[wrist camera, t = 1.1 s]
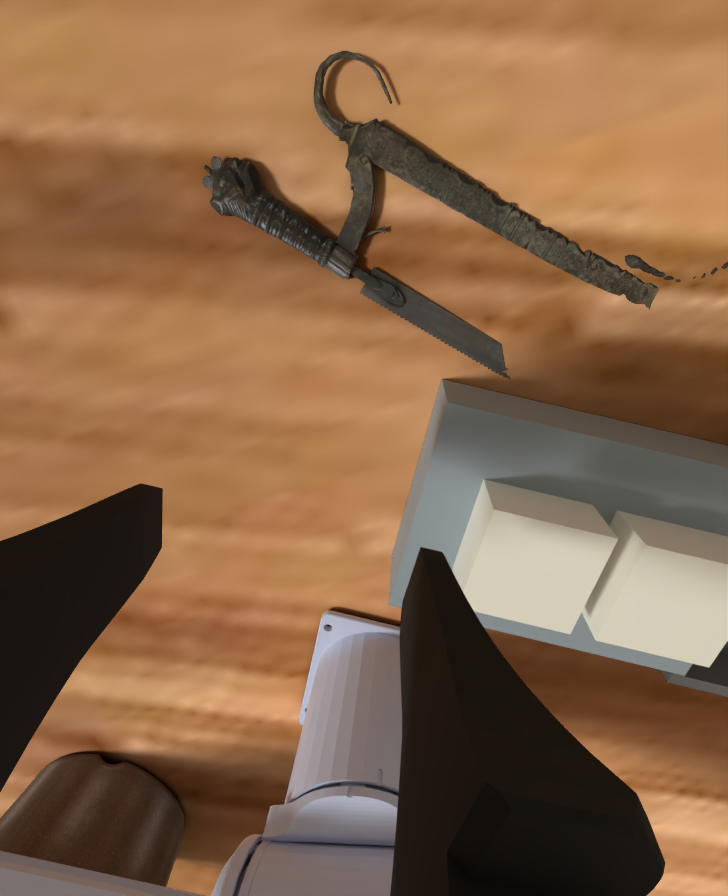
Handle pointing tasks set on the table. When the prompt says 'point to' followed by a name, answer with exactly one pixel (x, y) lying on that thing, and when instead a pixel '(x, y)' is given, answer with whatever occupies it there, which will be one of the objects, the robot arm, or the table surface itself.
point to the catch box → (704, 675)
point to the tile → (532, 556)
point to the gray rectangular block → (553, 484)
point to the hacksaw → (413, 164)
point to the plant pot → (97, 819)
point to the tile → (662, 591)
